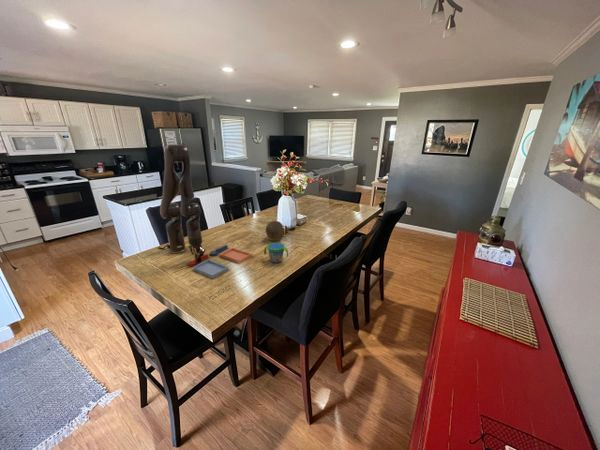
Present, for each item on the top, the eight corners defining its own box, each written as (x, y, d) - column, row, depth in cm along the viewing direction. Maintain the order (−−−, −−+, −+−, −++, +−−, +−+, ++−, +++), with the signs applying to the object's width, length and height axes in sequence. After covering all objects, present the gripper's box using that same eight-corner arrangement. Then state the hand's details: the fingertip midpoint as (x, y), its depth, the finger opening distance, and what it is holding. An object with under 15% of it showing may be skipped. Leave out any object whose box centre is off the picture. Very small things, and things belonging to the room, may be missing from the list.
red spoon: (191, 267, 142) (190, 263, 142) (186, 265, 145) (185, 261, 144) (209, 258, 153) (209, 254, 152) (205, 256, 156) (204, 253, 155)
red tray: (220, 256, 156) (219, 253, 155) (233, 250, 165) (232, 247, 164) (239, 263, 147) (239, 260, 147) (251, 256, 156) (251, 253, 156)
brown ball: (288, 240, 182) (288, 221, 177) (274, 245, 172) (273, 226, 167) (276, 235, 191) (275, 217, 186) (262, 240, 181) (261, 221, 176)
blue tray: (193, 270, 140) (192, 267, 139) (209, 262, 149) (208, 259, 148) (212, 278, 131) (212, 275, 131) (228, 269, 140) (228, 266, 140)
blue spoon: (213, 256, 156) (213, 253, 155) (208, 254, 158) (208, 251, 157) (229, 249, 166) (229, 245, 166) (224, 247, 169) (224, 244, 168)
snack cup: (291, 258, 154) (290, 244, 150) (284, 266, 144) (283, 251, 141) (269, 254, 159) (268, 240, 155) (261, 261, 150) (260, 247, 146)
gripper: (207, 236, 143) (210, 262, 149) (193, 231, 150) (197, 256, 156) (196, 240, 137) (200, 267, 143) (182, 235, 144) (186, 261, 150)
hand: (198, 261), depth 149 cm, fingers closed on red spoon, 1 cm apart
